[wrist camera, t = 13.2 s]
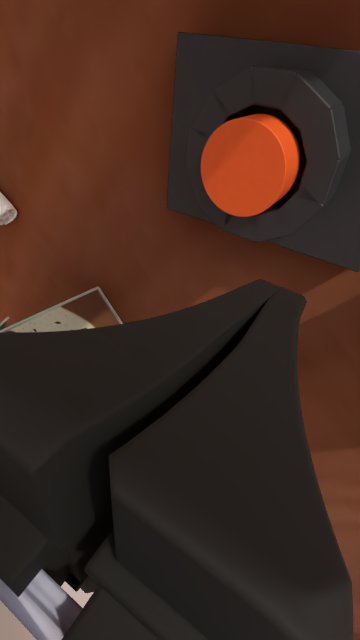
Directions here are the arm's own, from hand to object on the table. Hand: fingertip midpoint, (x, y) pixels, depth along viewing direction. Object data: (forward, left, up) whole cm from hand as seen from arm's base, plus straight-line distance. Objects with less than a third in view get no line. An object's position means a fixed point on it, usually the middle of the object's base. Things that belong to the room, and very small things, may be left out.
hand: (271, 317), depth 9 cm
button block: (+4, -2, -10) cm, 11 cm away
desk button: (+4, -2, -7) cm, 8 cm away
